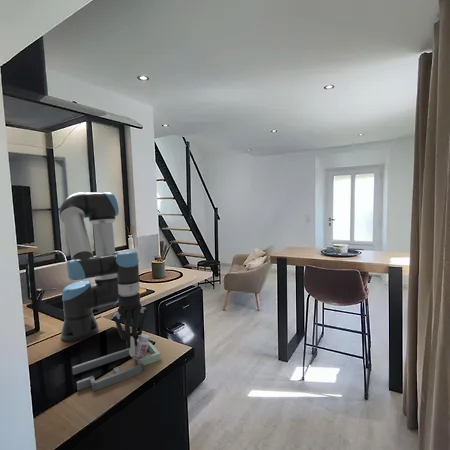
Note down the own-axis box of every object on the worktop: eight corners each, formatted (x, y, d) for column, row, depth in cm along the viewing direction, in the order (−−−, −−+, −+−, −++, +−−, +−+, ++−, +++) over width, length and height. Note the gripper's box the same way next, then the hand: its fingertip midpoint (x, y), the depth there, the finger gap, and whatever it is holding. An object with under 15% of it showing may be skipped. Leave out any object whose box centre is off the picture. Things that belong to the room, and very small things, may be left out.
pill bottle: (138, 361, 104) (145, 339, 105) (129, 356, 107) (135, 334, 107) (147, 358, 109) (153, 336, 109) (138, 353, 111) (143, 332, 111)
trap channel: (72, 373, 100) (72, 366, 100) (149, 347, 116) (149, 341, 116) (79, 396, 88) (78, 389, 88) (164, 363, 104) (164, 357, 104)
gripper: (113, 299, 97) (117, 365, 99) (149, 292, 104) (152, 353, 106) (108, 294, 103) (111, 356, 105) (142, 287, 110) (145, 345, 112)
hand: (132, 354), depth 106 cm, fingers closed
